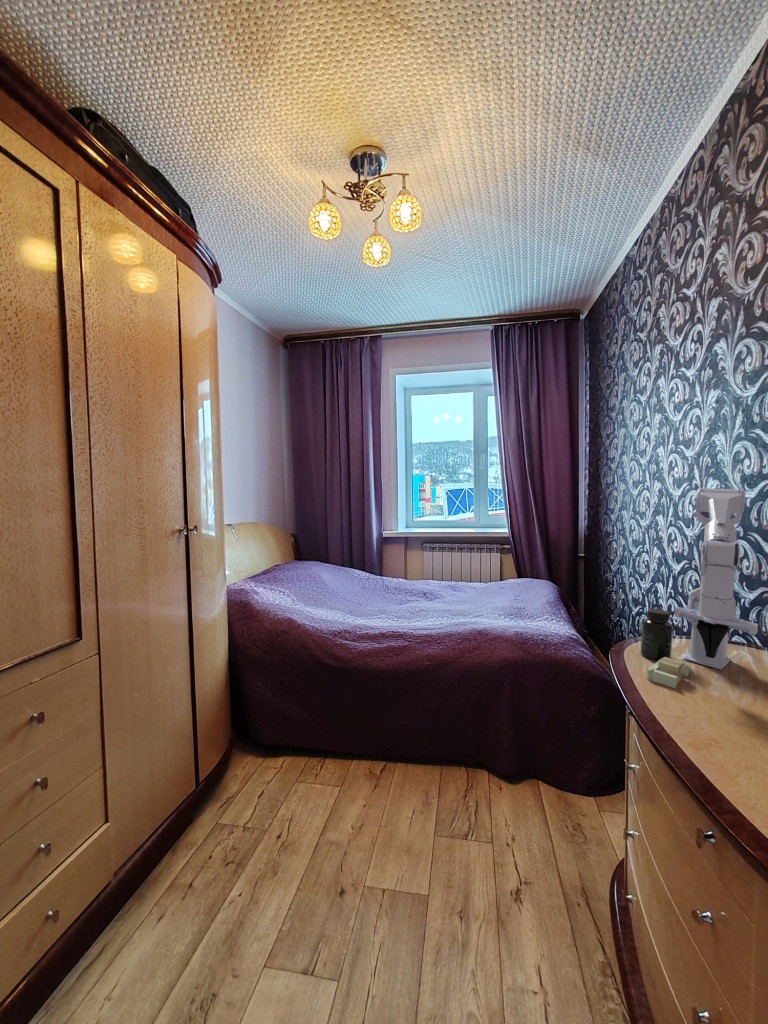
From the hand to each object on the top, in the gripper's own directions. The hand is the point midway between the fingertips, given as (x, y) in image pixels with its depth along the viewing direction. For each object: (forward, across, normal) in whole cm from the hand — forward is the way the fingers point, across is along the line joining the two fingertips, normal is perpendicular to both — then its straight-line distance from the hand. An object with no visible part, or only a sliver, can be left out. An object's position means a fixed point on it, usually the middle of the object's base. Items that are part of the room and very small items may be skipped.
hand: (710, 656), depth 98 cm
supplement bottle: (+8, -14, +11) cm, 19 cm away
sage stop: (+8, -8, 0) cm, 11 cm away
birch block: (+8, -7, 0) cm, 11 cm away
